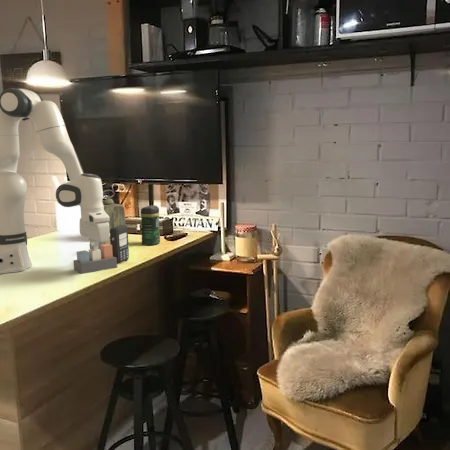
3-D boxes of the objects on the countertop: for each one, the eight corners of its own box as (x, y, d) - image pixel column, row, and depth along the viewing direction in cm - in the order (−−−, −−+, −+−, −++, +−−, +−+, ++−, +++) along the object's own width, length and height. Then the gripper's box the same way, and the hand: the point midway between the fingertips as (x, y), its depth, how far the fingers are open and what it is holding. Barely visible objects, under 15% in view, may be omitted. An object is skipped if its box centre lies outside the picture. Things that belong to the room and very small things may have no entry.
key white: (93, 265, 217) (92, 251, 216) (89, 263, 220) (88, 249, 219) (101, 264, 220) (100, 249, 219) (97, 262, 222) (96, 248, 221)
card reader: (118, 264, 226) (117, 228, 224) (110, 264, 228) (108, 228, 225) (130, 259, 235) (128, 224, 232) (121, 259, 236) (120, 224, 234)
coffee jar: (155, 246, 261) (154, 207, 258) (139, 245, 263) (138, 207, 260) (162, 242, 271) (161, 204, 268) (147, 241, 272) (145, 204, 269)
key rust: (104, 260, 220) (104, 246, 219) (101, 258, 223) (100, 244, 222) (112, 259, 222) (112, 244, 221) (108, 257, 225) (108, 243, 224)
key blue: (81, 267, 214) (80, 253, 213) (77, 266, 217) (76, 251, 216) (89, 266, 217) (88, 251, 216) (85, 264, 219) (85, 250, 218)
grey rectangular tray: (81, 273, 213) (81, 263, 212) (74, 270, 219) (73, 260, 218) (117, 267, 222) (116, 257, 221) (108, 264, 228) (108, 254, 227)
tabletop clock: (118, 235, 289) (116, 187, 285) (128, 237, 283) (125, 189, 278) (93, 239, 280) (90, 190, 275) (103, 242, 273) (100, 191, 269)
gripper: (74, 213, 223) (76, 246, 225) (96, 219, 207) (98, 255, 209) (89, 211, 227) (91, 244, 229) (111, 217, 211) (113, 252, 213)
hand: (94, 249), depth 219 cm, fingers closed, pressing on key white
